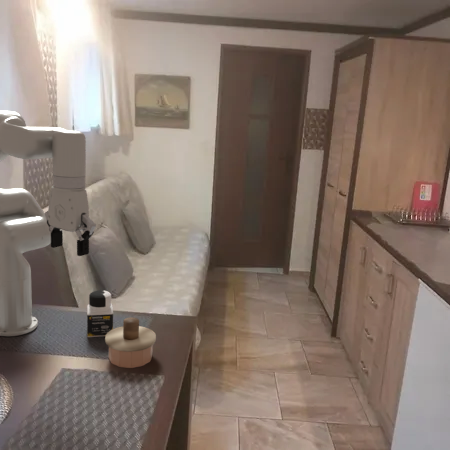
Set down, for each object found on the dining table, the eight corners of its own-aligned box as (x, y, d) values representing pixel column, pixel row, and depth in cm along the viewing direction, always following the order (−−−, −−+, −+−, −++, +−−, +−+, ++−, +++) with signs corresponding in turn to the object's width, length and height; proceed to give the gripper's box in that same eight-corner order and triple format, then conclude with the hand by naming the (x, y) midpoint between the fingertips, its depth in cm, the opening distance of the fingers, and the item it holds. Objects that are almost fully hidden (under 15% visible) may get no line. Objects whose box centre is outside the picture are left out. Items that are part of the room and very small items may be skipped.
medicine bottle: (87, 337, 135) (87, 297, 133) (87, 326, 142) (87, 288, 139) (113, 336, 137) (113, 296, 135) (111, 325, 144) (112, 287, 141)
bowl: (100, 357, 125) (100, 340, 124) (130, 342, 134) (130, 326, 133) (131, 372, 120) (131, 354, 118) (160, 355, 129) (160, 338, 127)
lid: (94, 340, 124) (94, 321, 123) (130, 324, 134) (130, 306, 133) (131, 356, 117) (132, 337, 116) (166, 338, 128) (166, 319, 126)
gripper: (33, 179, 117) (34, 246, 121) (81, 189, 108) (81, 261, 112) (58, 176, 123) (59, 240, 127) (106, 186, 114) (105, 255, 118)
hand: (69, 250), depth 120 cm, fingers open, 9 cm apart
